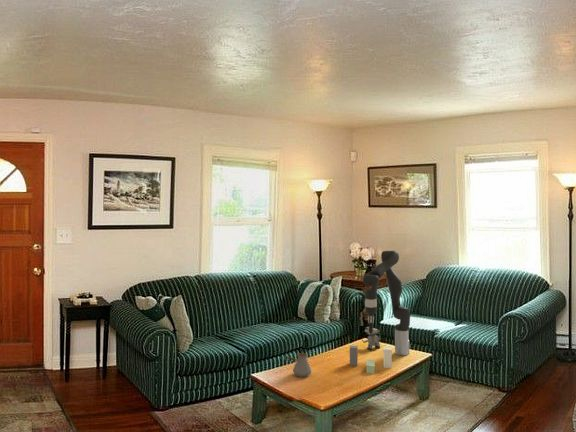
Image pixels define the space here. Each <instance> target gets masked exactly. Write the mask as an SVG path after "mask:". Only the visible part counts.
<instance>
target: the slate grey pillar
mask: <svg viewBox="0 0 576 432" xmlns="http://www.w3.org/2000/svg"><path fill="white" fill-rule="evenodd" d="M358 347H359V346H358V345H350V346H349V366H350V367H358V357H359V356H358Z"/></svg>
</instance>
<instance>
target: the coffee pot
mask: <svg viewBox="0 0 576 432" xmlns="http://www.w3.org/2000/svg"><path fill="white" fill-rule="evenodd" d="M296 355H297V359H296V358H293V357H290V356H286V357H285V359H286V361H288V360H291V361H296V362H295V364H294V367H293V369H292V372H293V374H294V375H295V376H296V377H298V378H299V377H300V378H306V377H308V376H309V375H310V374H311V373H312V368H311V366H310V363H309V361H308V359H307V356H308V353H305V352H301V353H300V352H299V353H296Z"/></svg>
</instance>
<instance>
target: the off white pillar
mask: <svg viewBox="0 0 576 432" xmlns="http://www.w3.org/2000/svg"><path fill="white" fill-rule="evenodd" d="M392 351H393V349H392V347H391V346H390V347H389V346H388V347H387V346H383V359H382V360H383V368H386V369H392V364H393V363H392V361H393V360H392V359H393V355H392Z"/></svg>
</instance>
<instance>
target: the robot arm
mask: <svg viewBox="0 0 576 432" xmlns="http://www.w3.org/2000/svg"><path fill="white" fill-rule="evenodd" d="M380 257H381V259H380V260H381V262H380V263H379V264H377V265H376V266H375V267H374V268H373V269H372V270H371V271H369V272H367V273H365V274H364V276H363V277H362V283H363V284H364V285H365V286H371V288H369V289H366V290H365V301H364V312H365V314H367V323H368V327H369V332H373V328H374V323H375V322H374V321H375V314H377V313H378V299H377V297H378V296H377V293H378V287H379V284H380V279H381V278H382V277H383V275H384V274H385V276H386V281H387V285H388V291H389V294H390V295H389V296H390V302H391V309H392V315H393V317H394V318H395V319H396V320H399V323H397V324H395V326H394V354H395V355H398V356H408V355H410V340H409V328H410V326H411V325H410V323H411V311H410V309H409V308H408V307H405V306H402V305H401V299H400V298H401V296H402V293H403V286H402V285H403V284H402V281H401V279H400V277H399V276H398V274H396V272H395V270H393V268H392V267H393V266H395V265H397V263H398V262H399V261H400V255H399V253H398V251H397V250H383V251H382V252H381V256H380Z"/></svg>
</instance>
